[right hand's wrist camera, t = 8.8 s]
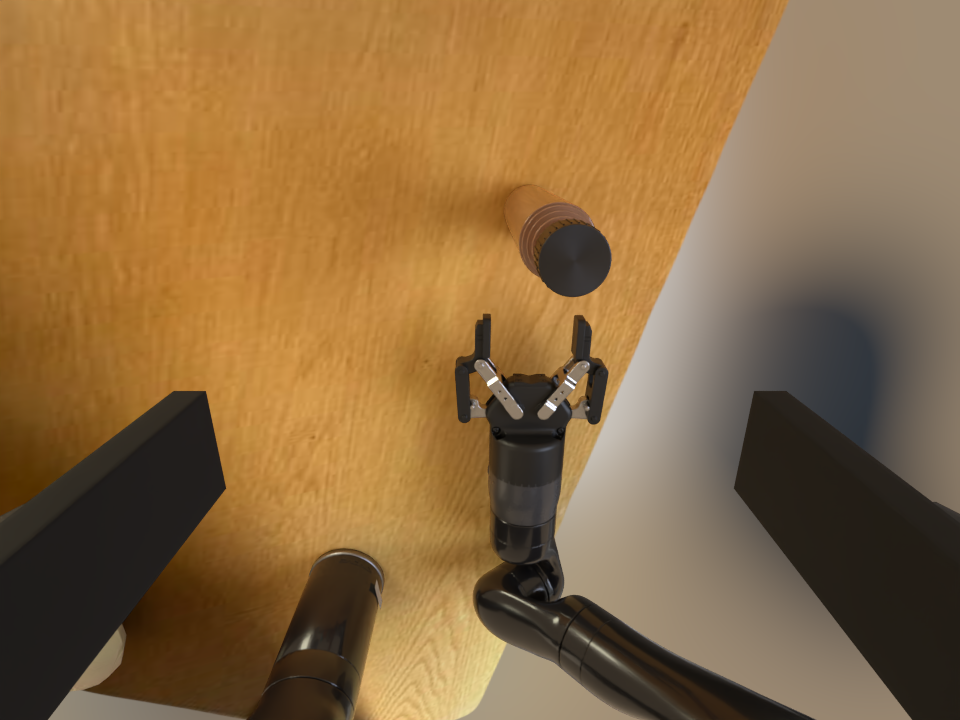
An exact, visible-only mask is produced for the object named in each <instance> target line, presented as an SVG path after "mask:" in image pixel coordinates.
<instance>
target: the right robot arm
mask: <svg viewBox="0 0 960 720" xmlns="http://www.w3.org/2000/svg"><path fill="white" fill-rule="evenodd" d="M225 489H226V486H225V481H224V476H223V471H222V467H221V462H220V457H219V452H218V447H217V443H216V438H215V433H214V428H213V423H212V418H211V414H210V409H209V404H208V399H207V394H206V391H173V392H172V393H171V394H169V395H168V396H167V397H165V398H164V399H163V400H161V401H160V402H159V403H158V404H156V405H155V406H154V407H152V408H151V409H150V410H148V411H147V412H146V413H144V414H143V415H142V416H140V417H139V418H138V419H136V420H135V421H134V422H132V423H131V424H130V425H129V426H127V427H126V428H125V429H123V430H122V431H121V432H119V433H118V434H117V435H115V436H114V437H113V438H111V439H110V440H109V441H107V442H106V443H105V444H103V445H102V446H101V447H100V448H98V449H97V450H96V451H94V452H93V453H92V454H90V455H89V456H88V457H86V458H85V459H84V460H82V461H81V462H80V463H78V464H77V465H76V466H74V467H73V468H72V469H71V470H69V471H68V472H67V473H65V474H64V475H63V476H61V477H60V478H59V479H57V480H56V481H55V482H53V483H52V484H51V485H49V486H48V487H47V488H45V489H44V490H43V491H42V492H40V493H39V494H38V495H36V496H35V497H34V498H32V499H31V500H30V501H28V502H27V503H26V504H23V505H21V506H19V507H17V508H16V509H14V510H12V511H10V512H8V513H6V514H4V515H2V516H0V720H48V719H49V717H50V716H51V715H52V714H53V712H54V711H55V710H56V708H57V707H58V706H59V704H60V703H61V702H62V701H63V699H64V698H65V697H66V695H67V694H68V693H69V691H70V690H71V689H72V688H73V686H74V685H75V684H76V682H77V681H78V680H79V679H80V677H81V676H82V675H83V673H84V672H85V671H86V669H87V668H88V667H89V666H90V664H91V663H92V662H93V660H94V659H95V658H96V656H97V655H98V654H99V653H100V651H101V650H102V649H103V647H104V646H105V645H106V643H107V642H108V641H109V640H110V638H111V637H112V636H113V634H114V633H115V632H116V630H117V629H118V628H119V627H120V625H121V624H122V623H123V621H124V620H125V619H126V618H127V616H128V615H129V614H130V612H131V611H132V610H133V608H134V607H135V606H136V605H137V603H138V602H139V601H140V599H141V598H142V597H143V595H144V594H145V593H146V592H147V590H148V589H149V588H150V586H151V585H152V584H153V582H154V581H155V580H156V579H157V577H158V576H159V575H160V573H161V572H162V571H163V570H164V568H165V567H166V566H167V564H168V563H169V562H170V560H171V559H172V558H173V557H174V555H175V554H176V553H177V551H178V550H179V549H180V547H181V546H182V545H183V544H184V542H185V541H186V540H187V538H188V537H189V536H190V534H191V533H192V532H193V531H194V529H195V528H196V527H197V525H198V524H199V523H200V521H201V520H202V519H203V518H204V516H205V515H206V514H207V512H208V511H209V510H210V509H211V507H212V506H213V505H214V503H215V502H216V501H217V499H218V498H219V497H220V496H221V494H222V493H223V492H224V490H225ZM734 489H735V490H736V492H737V493H738V494H739V496H740V497H741V498H742V499H743V501H744V502H745V503H746V505H747V506H748V507H749V509H750V510H751V511H752V512H753V514H754V515H755V516H756V517H757V519H758V520H759V521H760V523H761V524H762V525H763V527H764V528H765V529H766V530H767V532H768V533H769V534H770V536H771V537H772V538H773V540H774V541H775V542H776V544H777V545H778V546H779V547H780V549H781V550H782V551H783V553H784V554H785V555H786V556H787V558H788V559H789V560H790V562H791V563H792V564H793V566H794V567H795V568H796V569H797V571H798V572H799V573H800V575H801V576H802V577H803V579H804V580H805V581H806V582H807V584H808V585H809V586H810V588H811V589H812V590H813V591H814V593H815V594H816V595H817V597H818V598H819V599H820V600H821V602H822V603H823V605H824V606H825V607H826V608H827V610H828V611H829V612H830V614H831V615H832V616H833V617H834V619H835V620H836V621H837V623H838V624H839V625H840V627H841V628H842V629H843V630H844V632H845V633H846V634H847V636H848V637H849V638H850V640H851V641H852V642H853V643H854V645H855V646H856V647H857V649H858V650H859V651H860V653H861V654H862V655H863V656H864V658H865V659H866V660H867V661H868V663H869V664H870V666H871V667H872V668H873V669H874V671H875V672H876V673H877V675H878V676H879V677H880V678H881V680H882V681H883V682H884V684H885V685H886V686H887V688H888V689H889V690H890V691H891V693H892V694H893V695H894V697H895V698H896V699H897V700H898V702H899V703H900V704H901V706H902V707H903V708H904V710H905V711H906V712H907V714H908V715H909V716H910V717H911V719H912V720H960V514H959V513H957V512H955V511H953V510H951V509H949V508H947V507H945V506H943V505H941V504H939V503H937V502H932V501H930V500H929V499H928V498H926V497H925V496H924V495H922V494H921V493H920V492H918V491H917V490H916V489H914V488H913V487H912V486H910V485H909V484H908V483H907V482H905V481H904V480H903V479H901V478H900V477H899V476H897V475H896V474H895V473H893V472H892V471H891V470H889V469H888V468H887V467H885V466H884V465H883V464H881V463H880V462H879V461H878V460H876V459H875V458H874V457H872V456H871V455H870V454H868V453H867V452H866V451H864V450H863V449H862V448H860V447H859V446H858V445H856V444H855V443H854V442H852V441H851V440H850V439H849V438H847V437H846V436H845V435H843V434H842V433H841V432H839V431H838V430H837V429H835V428H834V427H833V426H831V425H830V424H829V423H828V422H826V421H825V420H824V419H822V418H821V417H820V416H818V415H817V414H816V413H814V412H813V411H812V410H810V409H809V408H808V407H806V406H805V405H804V404H802V403H801V402H800V401H799V400H797V399H796V398H795V397H793V396H792V395H791V394H789V393H788V392H787V391H754V394H753V399H752V404H751V409H750V414H749V419H748V423H747V428H746V433H745V438H744V443H743V447H742V452H741V457H740V462H739V467H738V471H737V476H736V481H735V486H734Z"/></svg>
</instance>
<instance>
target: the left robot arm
mask: <svg viewBox="0 0 960 720" xmlns="http://www.w3.org/2000/svg"><path fill="white" fill-rule="evenodd" d="M490 335H491V315H490V314H483V320H477V322H476V325H475V351H474V353H473V354H472V355H470V356H467V357H463V356H461V357H459V358H457V360H456V368H455V379H456V394H457V408H458V419H459V421H460V422H462V423H467V422H469V421H470V419H471V418H481V417H486V418H487V420H488V421H489V424H490V435H489V465H488V474H489V480H488V485H489V495H490V542H491V545H492V548H493V550H494V552H495V553H496V555H497V556H498V557H499V558H501V559H502V560H503V561H505V562H503V563H502V564H500V565H499V566H497V567H495V568H494V569H492V570H490V571H489V572H487V573H486V574H484V575H483V576H482V577H481V578H480V579H479V580H478V581H477V583H476V584H475V587H474V590H473V604H474V609H475V611H476V614H477V616H478V618H479V619H480V621H481V622H482V624H483V625H484V626H485V627H486V628H487V629H488V630H489V631H490V632H491V633H492V634H493V635H495V636H496V637H498V638H499V639H501V640H503V641H505V642H507V643H509V644H511V645H513V646H516V647H518V648H520V649H523V650H525V651H528V652H530V653H532V654H535V655H537V656H539V657H542V658H544V659H547V660H550V661H552V662H554V663H555V664H557V665H558V666H559V667H560V668H561V669H563V670H564V671H565V672H566V673H567V674H569V675H570V676H571V677H572V678H573V679H575V680H576V681H577V682H578V683H580V684H581V685H582V686H583V687H584V688H586V689H587V690H588V691H589V692H591V693H592V694H593V695H594V696H596V697H597V698H599V699H600V700H602V701H603V702H604V703H606V704H607V705H609V706H611V707H612V708H614V709H616V710H618V711H620V712H622V713H624V714H626V715H629V716H631V717H634V718H637V719H640V720H816V719H814V718H811V717H809V716H807V715H805V714H803V713H801V712H798V711H796V710H794V709H792V708H790V707H787V706H785V705H783V704H781V703H779V702H776V701H774V700H772V699H770V698H768V697H765V696H763V695H761V694H759V693H757V692H755V691H753V690H750V689H748V688H746V687H744V686H742V685H740V684H738V683H736V682H734V681H731V680H729V679H727V678H725V677H723V676H721V675H719V674H716V673H714V672H712V671H710V670H708V669H706V668H704V667H702V666H699V665H697V664H695V663H693V662H691V661H689V660H687V659H685V658H683V657H681V656H679V655H677V654H675V653H673V652H671V651H669V650H667V649H666V648H664V647H662V646H660V645H659V644H657V643H655V642H654V641H652V640H650V639H649V638H647V637H645V636H644V635H642V634H641V633H639V632H638V631H636V630H634V629H633V628H631V627H630V626H628V625H627V624H625V623H624V622H622V621H621V620H619V619H618V618H616V617H615V616H613V615H612V614H610V613H608V612H607V611H605V610H604V609H602V608H601V607H599V606H598V605H597V604H595V603H593V602H592V601H590V600H588V599H587V598H585V597H582V596H579V595H570V596H567V597H564V598H561V599H560V597H561V595H562V592H563V588H564V576H563V572H562V568H561V564H560V560H559V555H558V550H557V547H556V543H555V538H554V533H555V523H556V511H557V510H556V509H557V504H558V500H559V496H560V490H561V480H562V468H563V455H564V443H565V432H566V426H567V424H568V422H569V421H570V419H571V418H577V419H587V420H588V422H589V423H590V424H597V423H598V422H599V421H600V418H601V412H602V407H603V401H604V395H605V390H606V384H607V379H608V370H607V368H606V367H605V365H604V363H603V362H602V360H601V359H599V358H592V357H590V346H591V336H592V330H591V327H590V325H589V323H588V322H587V321H586V320H585V318H584V317H583V315H575V316H574V324H573V336H572V348H571V351H572V354H573V356H572V357H571V358H570V359H569V360H568V361H567V362H566V363H565V364H564V365H563V366H562V367H559V368H558V369H557V370H556V372H555V373H554V374H553V375H552V376H551V377H550V378H549V377H547V376H545V374H535V375H531V376H527V375H524V374H513V376H511V377H508V378H506V376H505V375H504V374H503V373H502V371H501V370H500V369H499V368H498V366H496V365H495V364H494V363H493V362H492V360H491V359H490ZM476 371H477V372H478V373H479V374H480V375H481V377H482V378H483V379H484V380H485V382H486V383H487V385H488V387H489V389H490V390H491V391H492V392H493V395H492V396H491V398H490V399H489V400H488V401H487V403H486V405H483V404H481V403H480V402H479V400H478V397H477V396H475V395H470V381H469V374H470V373H473V372H476ZM585 373H588V374H589V375H588V381H587V387H586V393H585V396H582V397H580V398H579V400H578V402H577V404H575V405H573V406H570V403H569V402H568V400H567V399H566V397H567V396H568V395H569V394H570V393H571V392H572V391H573V390H574V388H575V386H576V383H577V382H578V381H579V380H580V379H581V378H582V377H583V376H584V374H585ZM383 586H384V574H383V571H382V569H381V568H380V566H379V565H378V563H377V562H376V561H375V560H374V559H372V558H371V557H370V556H368V555H366V554H364V553H362V552H359V551H355V550H350V549H339V550H333V551H330V552H327V553H325V554H323V555H322V556H320V557H319V558H318V559H317V560H316V561H315V563H314V564H313V566H312V569H311V571H310V574H309V579H308V581H307V584H306V586H305V588H304V591H303V593H302V596H301V598H300V601H299V603H298V606H297V608H296V611H295V613H294V616H293V618H292V621H291V623H290V626H289V628H288V631H287V633H286V636H285V638H284V641H283V643H282V646H281V648H280V651H279V653H278V656H277V658H276V661H275V663H274V666H273V668H272V671H271V673H270V676H269V678H268V681H267V683H266V686H265V688H264V691H263V693H262V696H261V698H260V701H259V703H258V706H257V708H256V709H255V710H254V711H253V713H252V714H251V715H250V716H249V717H248V718H247V720H353V718H354V714H355V709H356V705H357V700H358V696H359V691H360V686H361V681H362V677H363V672H364V668H365V663H366V659H367V654H368V650H369V645H370V641H371V636H372V632H373V627H374V623H375V618H376V613H377V609H378V605H379V606H380V609H381V605H382V598H381V593H382V590H383Z"/></svg>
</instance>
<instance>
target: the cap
mask: <svg viewBox="0 0 960 720" xmlns="http://www.w3.org/2000/svg"><path fill="white" fill-rule="evenodd" d="M536 241H537V242H536V246H535V247H534V249H535V250H534V254H533V256H534V264H535V266H536V270H537V272H538V274H539V276H540V278H541V280H542V281H543V282H544V283H545V284H546V286H547V287H548V288H550V289H551V290H552V291H553V292H555V293H557V294H560V295H562V296H567V297H578V296H583V295H586V294H588V293H590V292H592V291H594V290H595V289H596V288H598V287H599V286H600V285H601V284H602V282H603V281H604V280H605V278H606V277H607V275H608V273H609V270H610V266H611V250H610V247H609V244H608V242H607V240H606V239H605V237H604V236H603V235H602V234H601V233H600V231H599V230H597V229H596V228H595V227H594V226H592V225H591V224H589V223H586V222H584V221H583V220H576V219H575V218H573V219H567V218H565V219H564V220H558V221H557V222H555V223H551V225H550V226H549V227H547V228H545V230H544V231H543V232H542V233H541V234H540V236H539V238H538V240H536Z"/></svg>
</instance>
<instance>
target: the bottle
mask: <svg viewBox="0 0 960 720" xmlns="http://www.w3.org/2000/svg"><path fill="white" fill-rule="evenodd" d="M504 216H505V220H506V223H507V225H508V227H509V230H510V232H511V234H512V237H513V239H514V241H515V244H516V246H517V249H518V251H519V253H520V256H521V258H522V260H523V262H524V264H525V265H526V267H527V268H528V269H529V270H530V271H531V272H532V273H533V274H535V275H536V276H538V277H540V276H539V274H538V272H537V270H536V266H535V264H534V256H533V254H534V250H535V249H534V247H535V246H536V242H537V241H536V240H538V238H539V236H540V234H541V233H542V232H543V231H544V230H545V228H547V227H549V226H550V225H551V223H555V222H557V221H558V220H564V219H565V218H567V219H573V218H575V219H576V220H583V221H584V222H586V223H589V224H591V225H592V226H594V224H593V222H592V220H591V219H590V217H589V216H588V215H587V213H586V212H585V211H583V210H582V209H581V208H579V207H578V206H576V205H574V204H572V203H570V202H568V201H566V200H564V199H562V198H560V197H558V196H556V195H554V194H552V193H551V192H549V191H547V190H545V189H543V188H541V187H539V186H536V185H524V186H521V187H518V188H517V189H515V190H514V191H513V192H512V193H511V194H510V195H509V196H508V198H507V200H506V203H505V206H504Z"/></svg>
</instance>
